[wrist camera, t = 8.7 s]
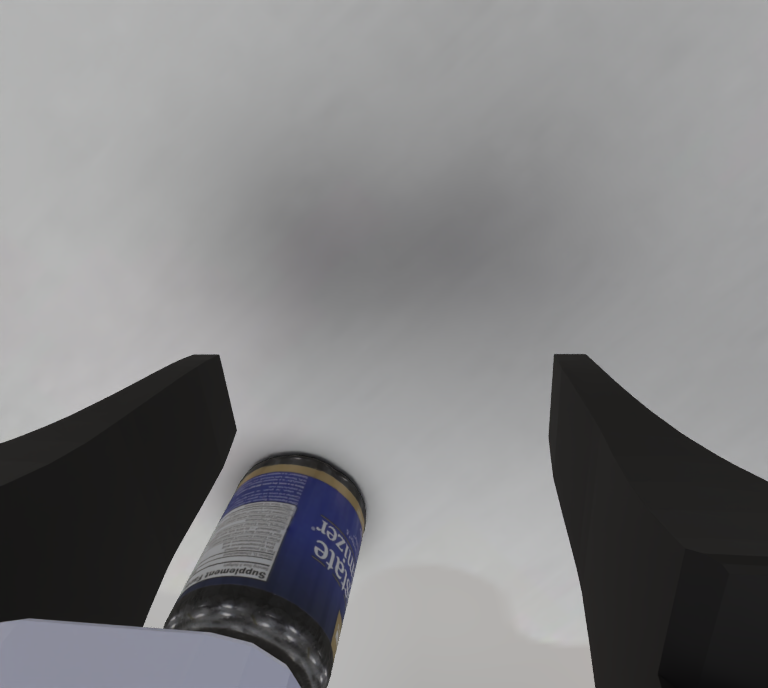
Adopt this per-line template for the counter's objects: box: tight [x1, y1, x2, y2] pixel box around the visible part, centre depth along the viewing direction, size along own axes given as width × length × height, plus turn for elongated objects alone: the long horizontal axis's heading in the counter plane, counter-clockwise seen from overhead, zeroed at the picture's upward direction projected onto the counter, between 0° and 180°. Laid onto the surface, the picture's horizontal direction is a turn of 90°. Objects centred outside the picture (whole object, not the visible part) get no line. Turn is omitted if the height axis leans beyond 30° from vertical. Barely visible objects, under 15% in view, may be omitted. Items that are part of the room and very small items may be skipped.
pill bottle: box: [163, 455, 366, 688], centre depth 22 cm, size 6×6×11 cm
